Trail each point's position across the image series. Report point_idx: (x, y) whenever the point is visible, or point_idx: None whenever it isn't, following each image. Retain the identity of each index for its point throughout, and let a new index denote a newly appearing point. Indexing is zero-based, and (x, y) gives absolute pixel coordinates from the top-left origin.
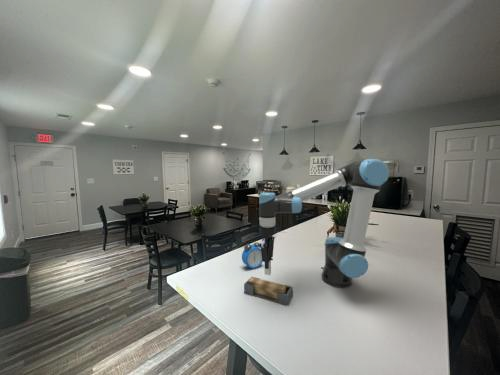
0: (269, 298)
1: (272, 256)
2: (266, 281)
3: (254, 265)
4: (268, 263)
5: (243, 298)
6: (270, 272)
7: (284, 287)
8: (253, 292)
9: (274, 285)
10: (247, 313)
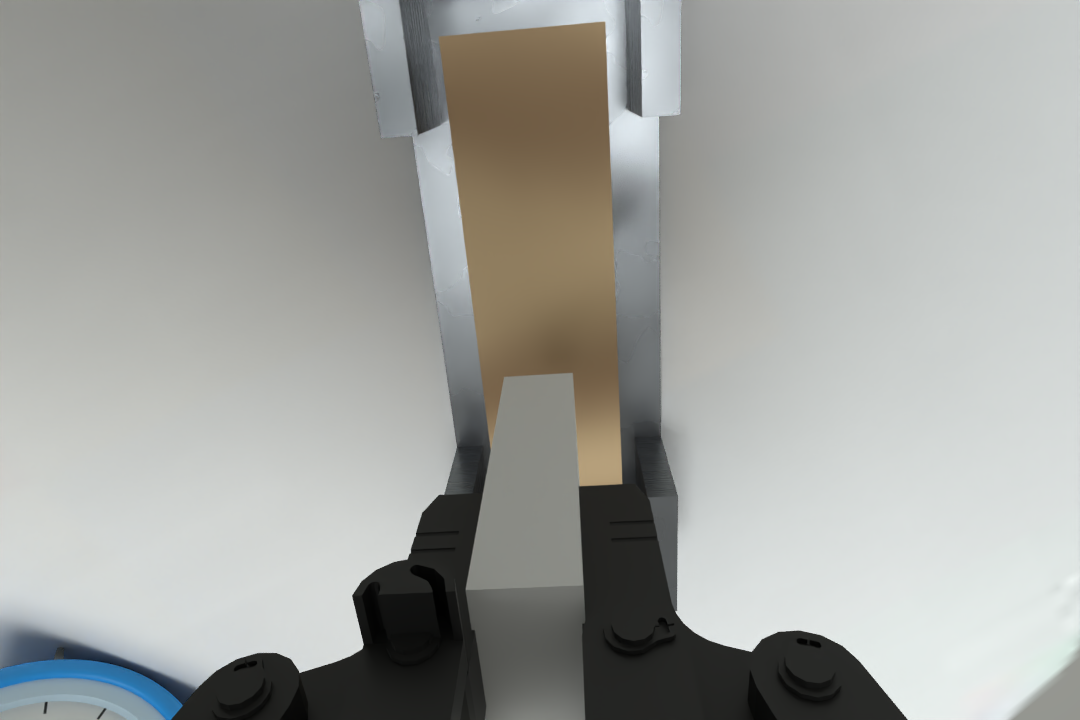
0: (642, 231)
1: (260, 684)
2: None
3: (114, 708)
4: (583, 578)
5: (753, 490)
6: (533, 396)
7: (518, 34)
8: (658, 448)
9: (551, 229)
10: (985, 329)
